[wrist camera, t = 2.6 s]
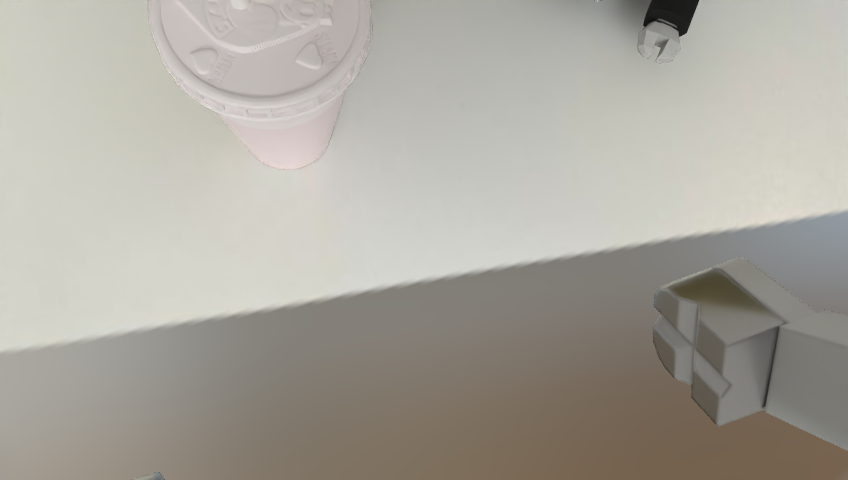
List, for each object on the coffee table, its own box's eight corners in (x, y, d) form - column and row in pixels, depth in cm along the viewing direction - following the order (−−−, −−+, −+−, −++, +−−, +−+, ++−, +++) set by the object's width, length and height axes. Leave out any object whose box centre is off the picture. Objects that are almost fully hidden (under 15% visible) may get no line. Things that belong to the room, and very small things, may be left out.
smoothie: (215, 51, 30) (107, -232, 16) (367, 61, 31) (386, -203, 17) (202, 197, 29) (73, 22, 15) (361, 204, 29) (376, 44, 16)
